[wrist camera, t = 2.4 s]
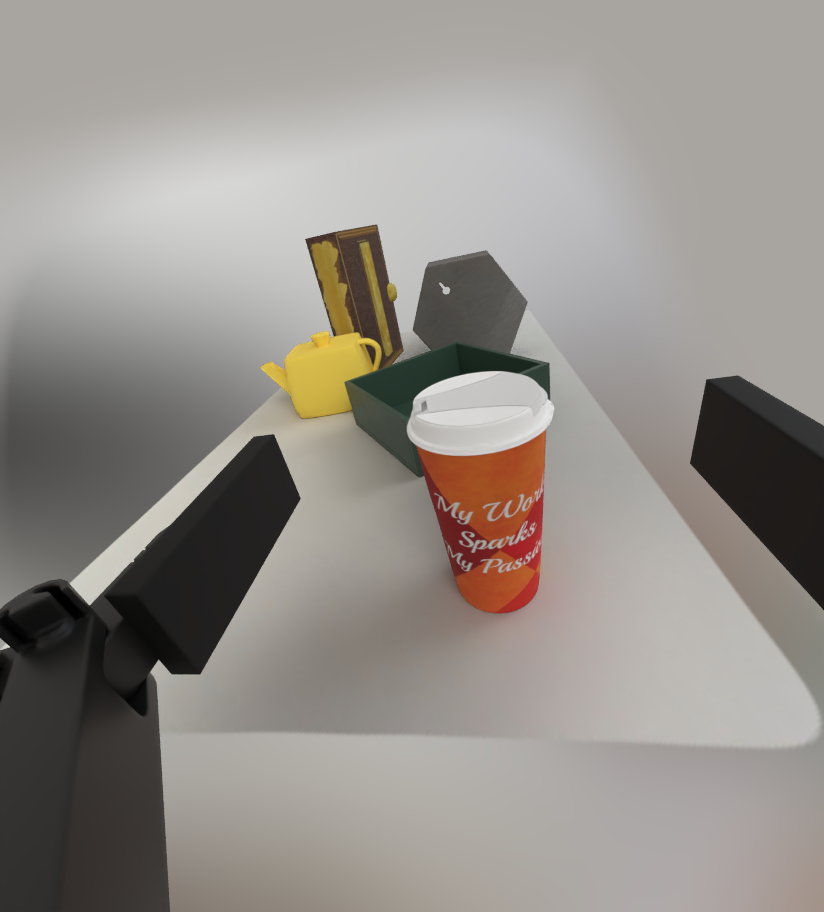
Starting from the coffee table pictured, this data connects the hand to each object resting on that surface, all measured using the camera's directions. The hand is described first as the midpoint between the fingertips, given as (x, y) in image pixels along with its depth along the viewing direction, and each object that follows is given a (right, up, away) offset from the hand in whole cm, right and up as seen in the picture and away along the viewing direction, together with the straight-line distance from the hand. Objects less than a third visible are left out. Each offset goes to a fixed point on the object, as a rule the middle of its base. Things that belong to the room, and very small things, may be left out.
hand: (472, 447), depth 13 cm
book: (-9, +19, +71) cm, 74 cm away
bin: (+3, +5, +42) cm, 42 cm away
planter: (+10, +18, +61) cm, 64 cm away
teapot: (-15, +9, +56) cm, 59 cm away
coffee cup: (+5, -10, +17) cm, 20 cm away
